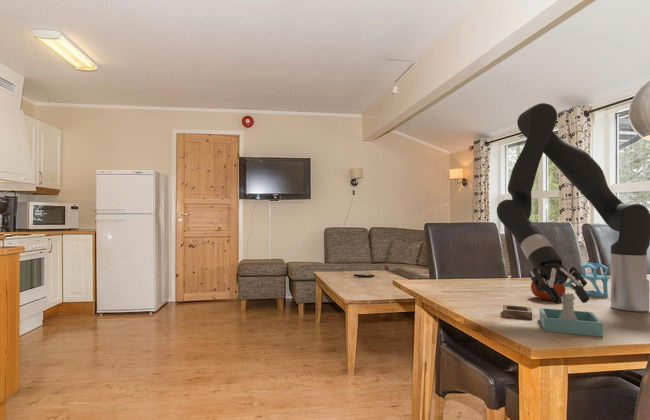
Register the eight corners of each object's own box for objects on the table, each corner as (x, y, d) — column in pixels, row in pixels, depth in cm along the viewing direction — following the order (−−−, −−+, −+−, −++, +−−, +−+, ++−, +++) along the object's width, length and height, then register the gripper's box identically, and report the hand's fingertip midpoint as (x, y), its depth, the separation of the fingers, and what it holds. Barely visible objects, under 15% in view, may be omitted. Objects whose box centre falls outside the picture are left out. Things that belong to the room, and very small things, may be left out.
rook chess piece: (571, 321, 110) (571, 292, 111) (582, 326, 106) (581, 295, 106) (554, 322, 110) (554, 292, 110) (565, 326, 106) (564, 295, 106)
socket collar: (530, 313, 123) (530, 306, 123) (532, 319, 116) (532, 312, 116) (502, 311, 126) (502, 304, 126) (503, 316, 119) (503, 309, 119)
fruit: (526, 298, 145) (526, 276, 145) (537, 295, 152) (537, 273, 152) (559, 303, 137) (559, 279, 137) (569, 299, 144) (569, 276, 144)
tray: (591, 324, 111) (591, 311, 111) (602, 336, 100) (602, 323, 100) (539, 319, 116) (539, 307, 116) (544, 330, 105) (544, 317, 105)
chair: (596, 297, 147) (596, 264, 147) (576, 293, 155) (577, 261, 155) (613, 296, 150) (613, 263, 150) (593, 292, 158) (593, 261, 158)
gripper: (525, 245, 114) (557, 294, 103) (568, 244, 117) (604, 292, 106) (512, 262, 119) (542, 311, 108) (554, 261, 122) (587, 308, 111)
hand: (573, 301), depth 107 cm, fingers open, 8 cm apart
